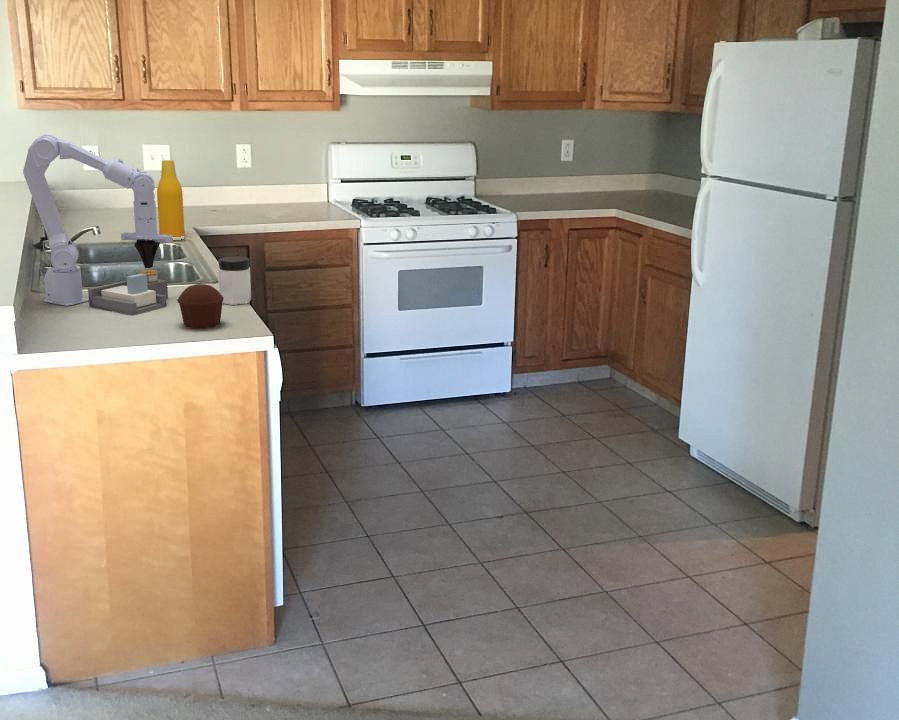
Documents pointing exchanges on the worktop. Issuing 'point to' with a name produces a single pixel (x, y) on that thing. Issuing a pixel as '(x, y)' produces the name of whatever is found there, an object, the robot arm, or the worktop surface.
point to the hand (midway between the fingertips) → (148, 267)
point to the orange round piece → (150, 275)
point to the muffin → (201, 306)
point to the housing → (126, 306)
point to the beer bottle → (170, 202)
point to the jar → (234, 280)
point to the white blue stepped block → (132, 291)
